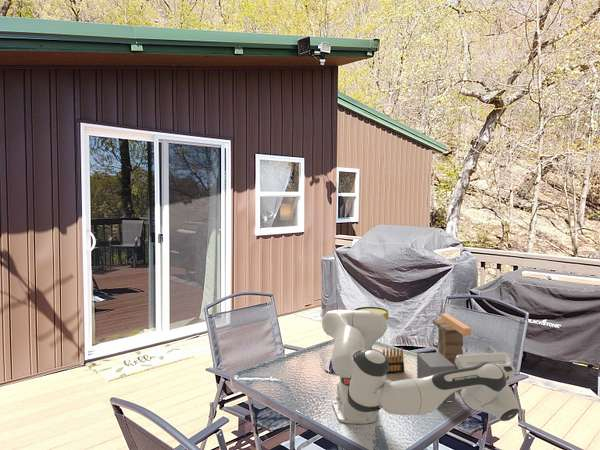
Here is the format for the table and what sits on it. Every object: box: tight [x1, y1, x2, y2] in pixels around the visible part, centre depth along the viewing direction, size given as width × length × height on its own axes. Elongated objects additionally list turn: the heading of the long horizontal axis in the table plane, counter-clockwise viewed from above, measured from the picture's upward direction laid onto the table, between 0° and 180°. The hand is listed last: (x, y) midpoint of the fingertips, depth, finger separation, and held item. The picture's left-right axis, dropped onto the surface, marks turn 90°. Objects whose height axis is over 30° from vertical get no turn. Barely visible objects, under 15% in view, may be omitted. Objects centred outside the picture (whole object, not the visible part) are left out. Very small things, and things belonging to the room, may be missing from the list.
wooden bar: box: [440, 313, 472, 337], centre depth 200 cm, size 24×3×3 cm, turn 5°
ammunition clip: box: [382, 347, 405, 375], centre depth 217 cm, size 11×2×12 cm, turn 99°
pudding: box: [328, 358, 337, 375], centre depth 223 cm, size 12×12×5 cm
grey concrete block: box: [416, 352, 456, 403], centre depth 193 cm, size 16×10×15 cm, turn 5°
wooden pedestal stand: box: [432, 319, 464, 370], centre depth 206 cm, size 16×12×26 cm
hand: (475, 346), depth 177 cm, fingers open, 8 cm apart
